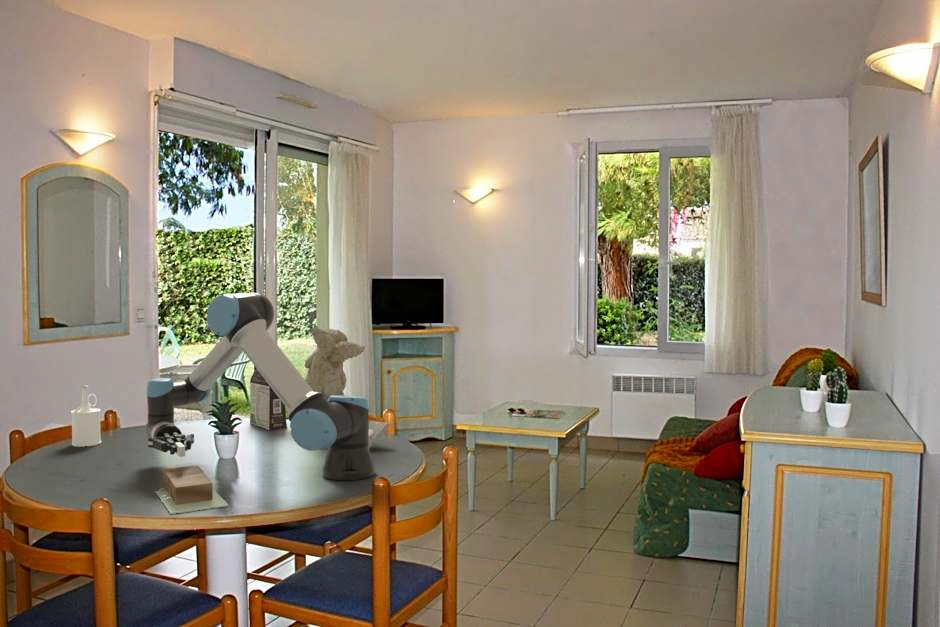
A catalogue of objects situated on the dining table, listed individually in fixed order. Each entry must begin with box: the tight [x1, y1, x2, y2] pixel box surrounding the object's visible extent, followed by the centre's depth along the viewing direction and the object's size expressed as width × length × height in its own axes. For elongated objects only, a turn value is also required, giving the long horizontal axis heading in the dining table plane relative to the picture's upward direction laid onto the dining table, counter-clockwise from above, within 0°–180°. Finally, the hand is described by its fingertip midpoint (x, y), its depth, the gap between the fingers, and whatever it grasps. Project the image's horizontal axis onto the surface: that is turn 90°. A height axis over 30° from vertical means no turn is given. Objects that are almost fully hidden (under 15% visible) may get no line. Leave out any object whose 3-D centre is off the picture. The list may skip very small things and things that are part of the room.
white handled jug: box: [70, 385, 102, 448], centre depth 279 cm, size 10×9×20 cm
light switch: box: [369, 420, 390, 449], centre depth 276 cm, size 8×6×14 cm
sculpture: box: [304, 322, 366, 400], centre depth 298 cm, size 22×24×40 cm
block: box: [163, 464, 213, 505], centre depth 218 cm, size 4×9×18 cm
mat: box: [155, 487, 230, 515], centre depth 215 cm, size 22×14×1 cm, turn 30°
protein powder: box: [249, 367, 288, 431], centre depth 312 cm, size 16×9×28 cm, turn 42°
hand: (182, 451), depth 223 cm, fingers closed
